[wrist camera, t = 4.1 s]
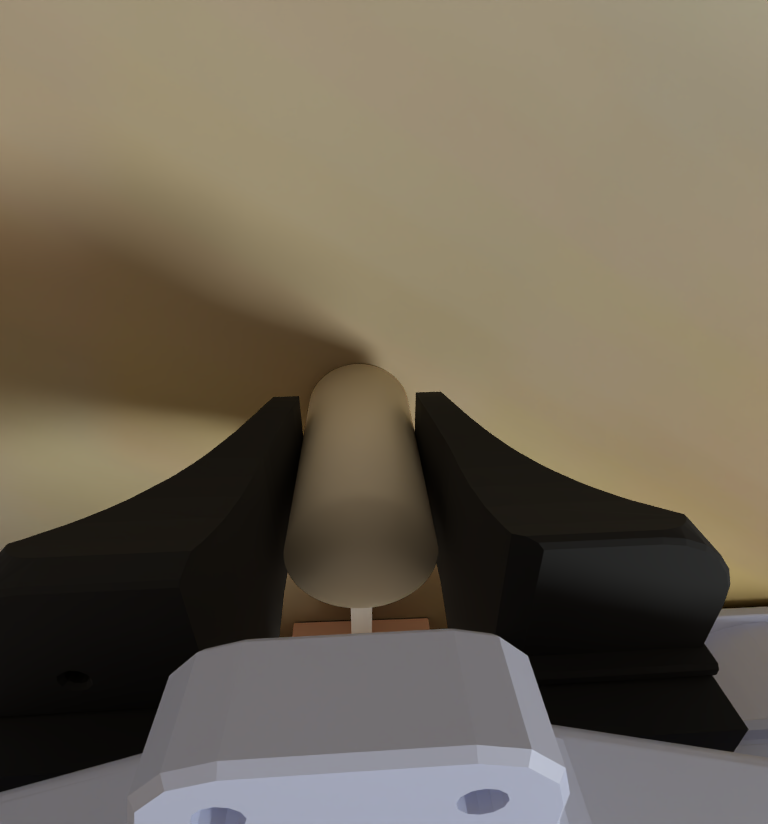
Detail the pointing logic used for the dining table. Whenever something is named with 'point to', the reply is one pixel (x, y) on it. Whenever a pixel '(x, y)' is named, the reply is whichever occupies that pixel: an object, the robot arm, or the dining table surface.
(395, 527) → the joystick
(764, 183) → the dining table surface
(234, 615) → the robot arm
